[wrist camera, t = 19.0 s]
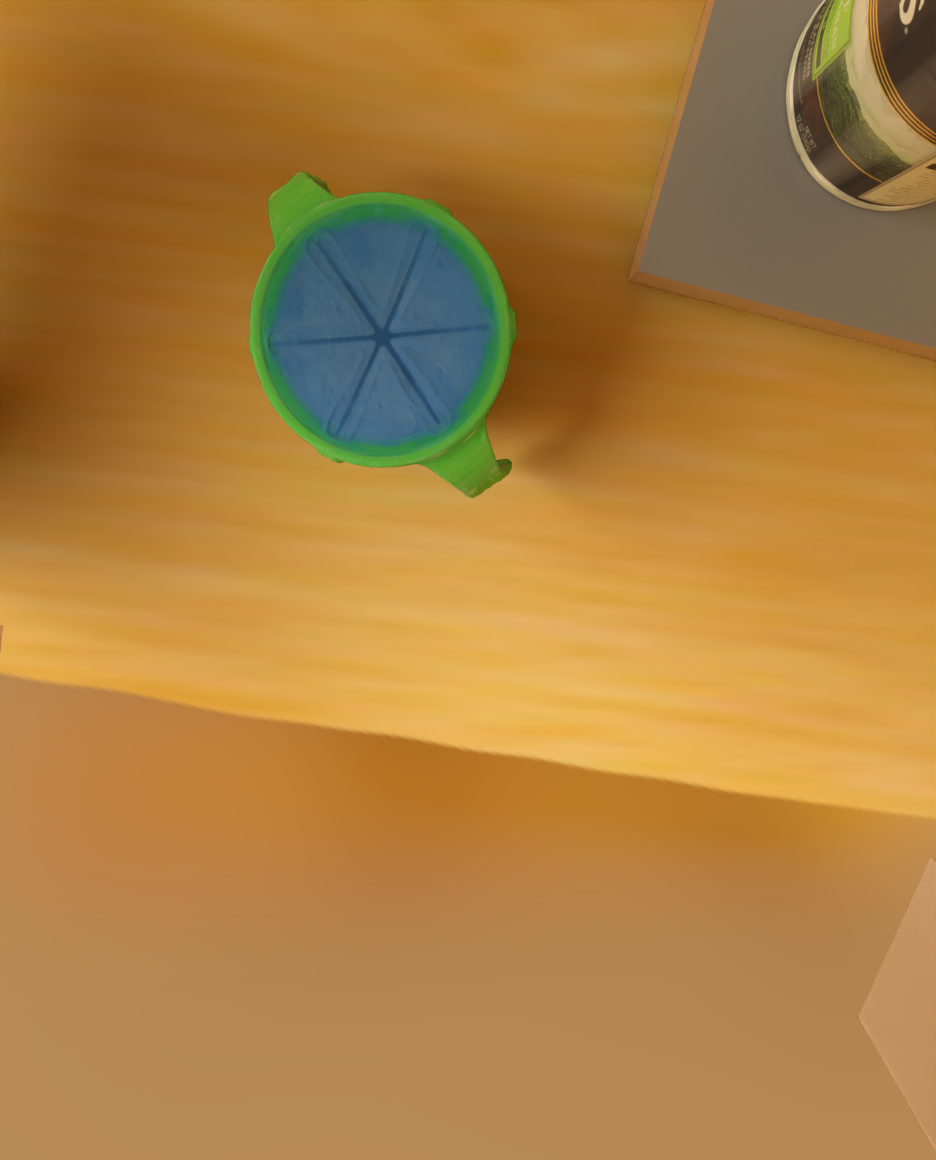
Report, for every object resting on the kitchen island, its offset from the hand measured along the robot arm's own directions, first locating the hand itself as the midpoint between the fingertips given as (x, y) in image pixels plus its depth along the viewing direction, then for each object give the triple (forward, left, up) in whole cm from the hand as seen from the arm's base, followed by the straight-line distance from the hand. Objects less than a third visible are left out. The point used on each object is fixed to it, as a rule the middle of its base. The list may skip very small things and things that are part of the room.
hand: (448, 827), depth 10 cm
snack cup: (-6, +7, -32) cm, 33 cm away
